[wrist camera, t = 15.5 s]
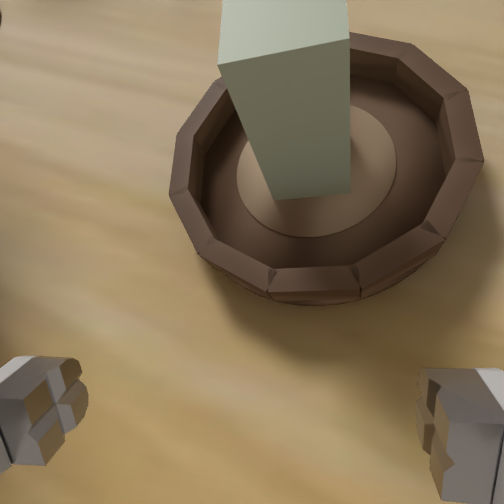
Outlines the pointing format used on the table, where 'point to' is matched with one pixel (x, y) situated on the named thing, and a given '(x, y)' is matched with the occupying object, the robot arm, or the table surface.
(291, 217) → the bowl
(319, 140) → the block
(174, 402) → the table surface
